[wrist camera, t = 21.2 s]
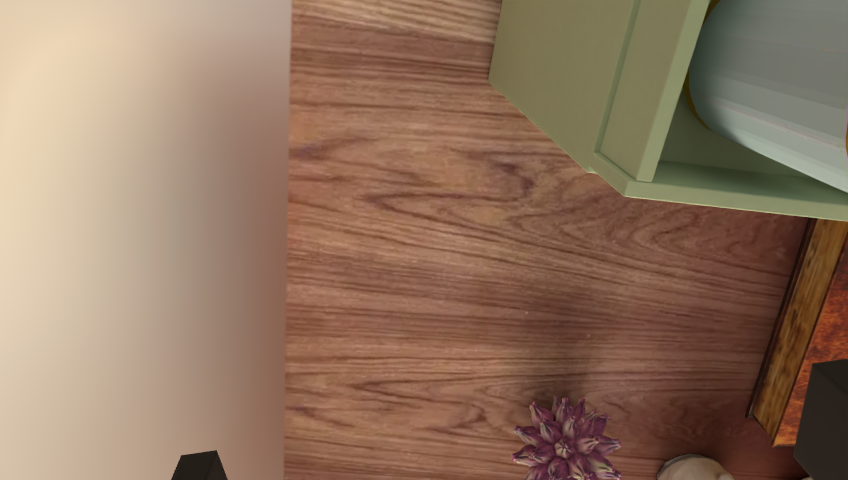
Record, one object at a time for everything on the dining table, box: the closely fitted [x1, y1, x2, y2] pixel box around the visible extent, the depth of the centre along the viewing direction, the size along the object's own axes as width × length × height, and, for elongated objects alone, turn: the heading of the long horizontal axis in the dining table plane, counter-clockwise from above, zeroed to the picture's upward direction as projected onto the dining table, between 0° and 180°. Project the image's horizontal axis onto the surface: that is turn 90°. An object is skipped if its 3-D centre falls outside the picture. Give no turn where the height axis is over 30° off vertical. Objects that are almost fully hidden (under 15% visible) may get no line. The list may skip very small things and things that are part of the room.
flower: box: [512, 395, 623, 480], centre depth 61 cm, size 12×12×12 cm
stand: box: [488, 0, 848, 221], centre depth 34 cm, size 12×12×30 cm
